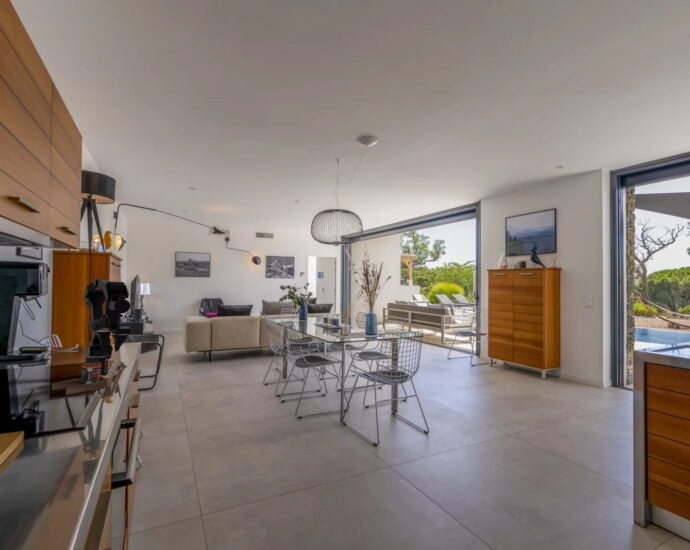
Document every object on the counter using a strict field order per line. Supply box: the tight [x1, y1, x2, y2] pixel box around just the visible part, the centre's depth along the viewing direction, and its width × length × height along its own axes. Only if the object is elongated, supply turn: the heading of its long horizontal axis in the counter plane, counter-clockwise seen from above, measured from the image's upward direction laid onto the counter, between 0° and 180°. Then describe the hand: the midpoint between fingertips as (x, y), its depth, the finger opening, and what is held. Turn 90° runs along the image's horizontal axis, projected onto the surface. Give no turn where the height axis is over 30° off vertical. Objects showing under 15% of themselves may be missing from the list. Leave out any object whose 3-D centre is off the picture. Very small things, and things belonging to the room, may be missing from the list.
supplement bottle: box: [80, 356, 101, 385], centre depth 138 cm, size 6×6×11 cm
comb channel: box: [51, 374, 111, 396], centre depth 135 cm, size 11×14×4 cm
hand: (109, 350), depth 149 cm, fingers open, 9 cm apart
